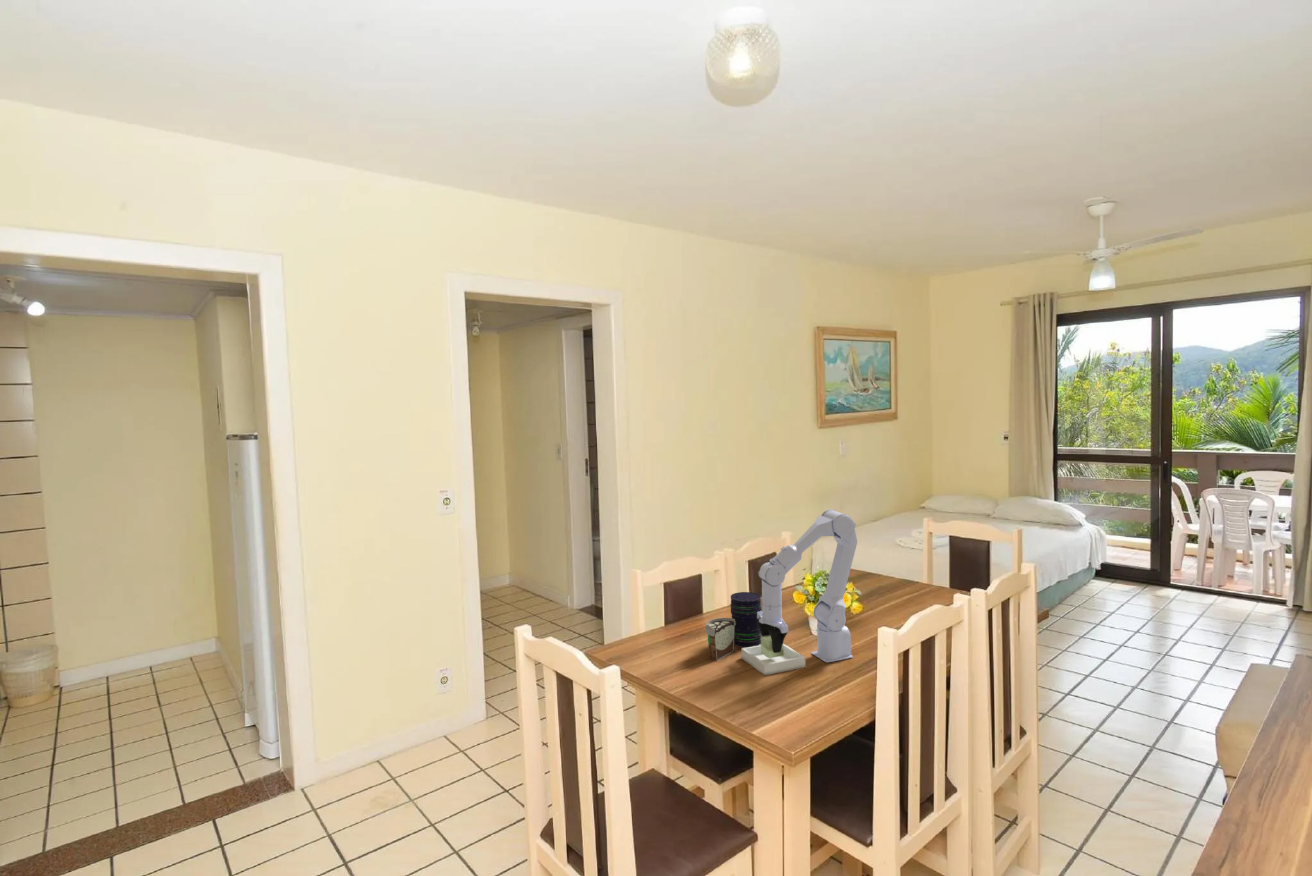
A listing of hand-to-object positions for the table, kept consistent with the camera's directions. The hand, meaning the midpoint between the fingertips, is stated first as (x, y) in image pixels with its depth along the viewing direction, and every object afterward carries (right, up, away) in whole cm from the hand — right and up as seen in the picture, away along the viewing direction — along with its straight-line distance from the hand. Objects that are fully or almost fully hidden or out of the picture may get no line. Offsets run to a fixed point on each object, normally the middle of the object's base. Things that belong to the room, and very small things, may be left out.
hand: (772, 649), depth 192 cm
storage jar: (-5, -4, +17) cm, 19 cm away
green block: (0, -2, 0) cm, 2 cm away
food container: (-16, -4, +8) cm, 18 cm away
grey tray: (0, -4, 0) cm, 4 cm away
